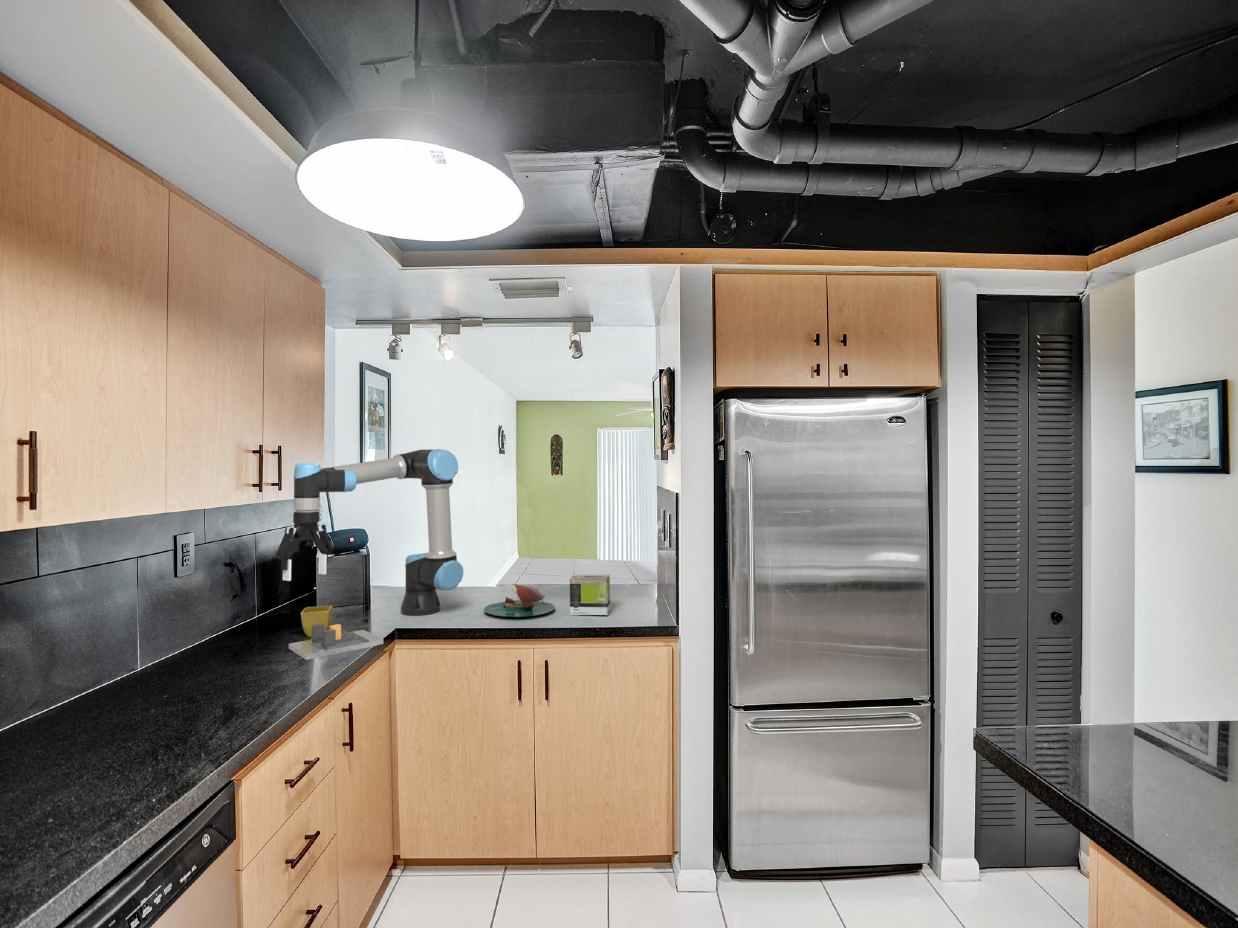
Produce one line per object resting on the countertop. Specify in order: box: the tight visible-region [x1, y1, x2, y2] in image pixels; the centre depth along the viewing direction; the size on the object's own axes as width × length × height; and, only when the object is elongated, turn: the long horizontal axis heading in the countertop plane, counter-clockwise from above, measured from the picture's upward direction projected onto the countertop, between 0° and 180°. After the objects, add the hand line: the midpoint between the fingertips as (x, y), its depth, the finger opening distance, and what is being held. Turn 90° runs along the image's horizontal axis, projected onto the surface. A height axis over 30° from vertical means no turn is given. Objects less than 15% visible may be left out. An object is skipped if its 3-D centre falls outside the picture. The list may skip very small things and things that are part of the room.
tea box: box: [569, 574, 611, 616], centre depth 249 cm, size 15×10×15 cm
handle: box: [324, 629, 336, 648], centre depth 198 cm, size 3×2×5 cm, turn 134°
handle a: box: [312, 623, 324, 641], centre depth 205 cm, size 3×2×5 cm, turn 134°
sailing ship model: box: [483, 583, 556, 618], centre depth 251 cm, size 28×28×11 cm
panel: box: [288, 629, 384, 661], centre depth 204 cm, size 24×16×2 cm, turn 135°
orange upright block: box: [328, 623, 342, 640], centre depth 204 cm, size 3×2×5 cm, turn 134°
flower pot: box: [300, 605, 333, 638], centre depth 217 cm, size 9×9×9 cm
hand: (305, 577), depth 202 cm, fingers open, 13 cm apart
